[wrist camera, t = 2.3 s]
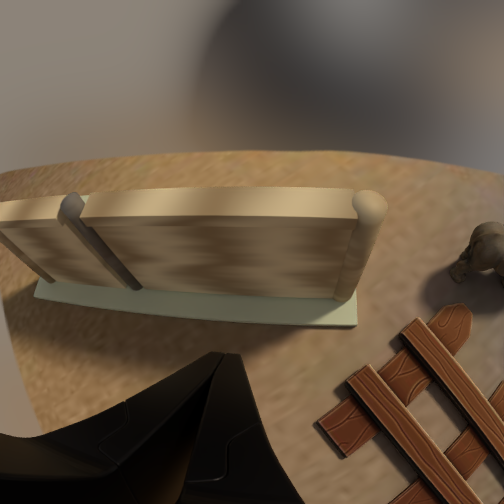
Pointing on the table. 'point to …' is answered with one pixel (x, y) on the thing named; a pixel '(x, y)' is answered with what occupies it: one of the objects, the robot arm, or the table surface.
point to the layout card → (204, 304)
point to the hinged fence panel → (241, 238)
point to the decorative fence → (405, 425)
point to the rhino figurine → (482, 252)
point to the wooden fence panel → (61, 242)
